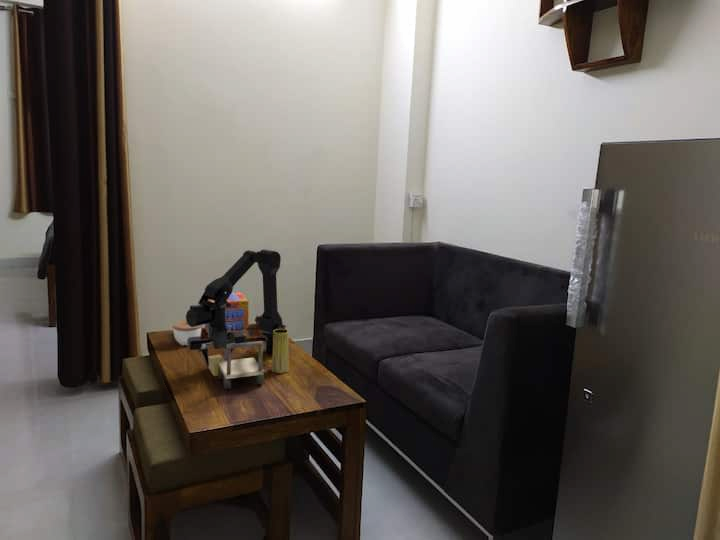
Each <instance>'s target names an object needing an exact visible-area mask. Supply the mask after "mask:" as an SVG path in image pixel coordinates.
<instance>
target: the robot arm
mask: <svg viewBox="0 0 720 540" xmlns="http://www.w3.org/2000/svg"><path fill="white" fill-rule="evenodd" d="M281 262H282V257H281V254H280V253H279V252H278V251H276V250H272V249H271V250H270V249H261V250H258V251H256V250H249V249H248V250H245V251H244V252H243V254H242V256H240V258H238V260H237V261H235V263H234V264H233V265H232V266H231V267H230V268H229V269H228V270H227V271H226V272H225V273H224V274H223V275H222V276H220V277H218V278H215V279H214V280H212V281H211V282H210V283H209V284H207V285H206V287H204V292H203V294H202V295H201V297H200V299H199V300H198V303H197V304H196V305H193V304H192V305H190V306H189V309H188V310H187V312H186V314H185V321H187V323H188V325H189V326H190V327H196V326H200V325H202V326H203V325H204V326H205V324H208V334H207V337H208V338H205V339H204V338H202V339H201V336H200V337H199V336H198V337H189V338H188V339H187V345H188V346H187V347H188V350H190V351H198V352H201V353H202V356H203V358H204V362H205V364H206V366H207V367H209V354H208V351H209V349H208V348H207V345H212V347H213V349H215V350H219V349H225V350H224V351H225V356H224V360H225V361H227V348H226V345H227V344H237V343H247V337H245V336H244V335H243V334H242V333H234V332H227V330H226V307H230V306H231V304H230V303H228V302H227V299H228V298H229V296H230V295H231V293H233V290H234V286H235V285H236V284H237V283H238V282H239V281H240V280H241V278H243V277H244V276H245V274H246V273H247V272H248V271H249V270H250V269H251V268H252V266H254V265H255V264H256V263H257V267H258V269H259V270H260V273H261V274H262V293H263V294H262V295H263V297H262V298H263V312H262V313H261V315H262V316H260V315H258V316H259V318H258V319H259V326H258V327H260V330H261V331H262V333H263V335H264V336H266V338H265V340H264V351H265V352H266V354H267V355H268V356H272V354H273V331H274V330H276V329H286V327H285V328H284V327H283V325H284V324H283V319H282V316H281V315H280V313H279V311H278V291H277V290H278V289H277V287H278V285H277V283H278V282H277V273H278V272H279V270H280V268H281ZM208 300H212V301H215V302H211V301H208ZM234 349H235V348H233V349H231V354H232V353H233V351H234Z"/></svg>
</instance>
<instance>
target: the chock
mask: <svg viewBox="0 0 720 540" xmlns="http://www.w3.org/2000/svg"><path fill="white" fill-rule="evenodd" d="M208 360H209V366H208V370H209V371H210V372H211V375H213V376H214V377H218V367H219V366H218V361H225V358H224V357H223V356H222V355H221V354H214V355H208Z"/></svg>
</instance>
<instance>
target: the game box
mask: <svg viewBox="0 0 720 540" xmlns="http://www.w3.org/2000/svg"><path fill="white" fill-rule="evenodd" d="M208 301H211V302H215V301H212V300H208ZM227 302H228V303H230V304H231V306H230V307H226V330H227V332H234V333H242V334H243V335H244V336H245V337H246V338H248V337H249V332H248V330H247V329H246V327H247V326H249V311H250V310H249V309H250V308H249V303H250V302H249V300H248V299H247V298H246V297H245V295H244V294H243V293H242V292H232V293H231V295H230V296H229V298H228V299H227ZM204 329H205V331H206V333H208V324H204Z"/></svg>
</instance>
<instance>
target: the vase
mask: <svg viewBox="0 0 720 540" xmlns="http://www.w3.org/2000/svg"><path fill="white" fill-rule="evenodd" d="M289 334H290V333H289V329H286V328H285V329H276V330H274V331H273V354H272V355H271V357H272V359H271V370H270V371H271V372H273V373H276V374H285V372H286V373H288V372H289V371H290V366H289V364H290V362H289V361H290V360H289V359H290V358H289Z"/></svg>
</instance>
